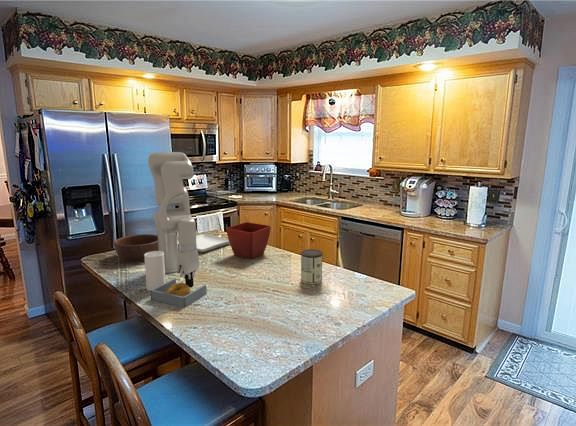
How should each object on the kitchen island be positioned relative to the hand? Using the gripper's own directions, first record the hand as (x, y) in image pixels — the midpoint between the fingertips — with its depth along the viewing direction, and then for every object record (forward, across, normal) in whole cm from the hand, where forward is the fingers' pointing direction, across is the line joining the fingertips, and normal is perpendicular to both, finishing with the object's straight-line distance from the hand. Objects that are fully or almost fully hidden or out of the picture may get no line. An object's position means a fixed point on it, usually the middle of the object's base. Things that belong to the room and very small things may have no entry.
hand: (189, 286), depth 163 cm
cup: (+2, +4, -16) cm, 17 cm away
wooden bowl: (+2, -26, -57) cm, 63 cm away
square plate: (+3, -60, -38) cm, 71 cm away
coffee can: (+2, -34, +45) cm, 57 cm away
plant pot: (+2, -56, -2) cm, 56 cm away
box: (+2, +7, 0) cm, 7 cm away
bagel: (+2, +7, -1) cm, 7 cm away
